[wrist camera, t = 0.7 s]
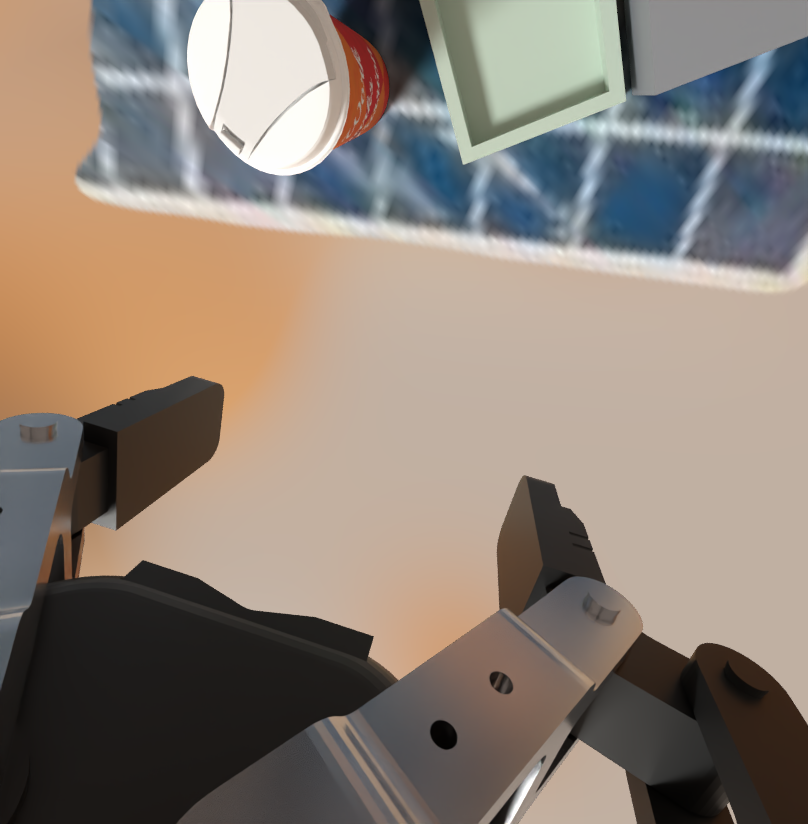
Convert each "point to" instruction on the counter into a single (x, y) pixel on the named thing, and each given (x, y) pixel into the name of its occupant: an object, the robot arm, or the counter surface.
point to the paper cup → (283, 80)
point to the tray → (523, 66)
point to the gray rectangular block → (703, 37)
